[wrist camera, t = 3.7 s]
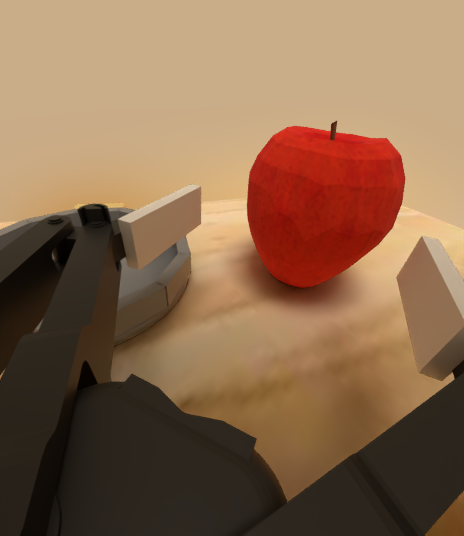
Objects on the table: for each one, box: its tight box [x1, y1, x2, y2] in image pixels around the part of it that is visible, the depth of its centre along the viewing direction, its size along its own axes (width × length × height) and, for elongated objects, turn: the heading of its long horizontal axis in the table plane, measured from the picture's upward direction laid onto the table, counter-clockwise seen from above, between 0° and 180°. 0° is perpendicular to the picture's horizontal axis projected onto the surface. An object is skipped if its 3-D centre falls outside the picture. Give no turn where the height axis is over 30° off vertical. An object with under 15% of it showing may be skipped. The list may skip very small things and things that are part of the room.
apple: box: [247, 121, 405, 288], centre depth 21 cm, size 12×12×13 cm
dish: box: [0, 203, 191, 346], centre depth 21 cm, size 17×18×3 cm
